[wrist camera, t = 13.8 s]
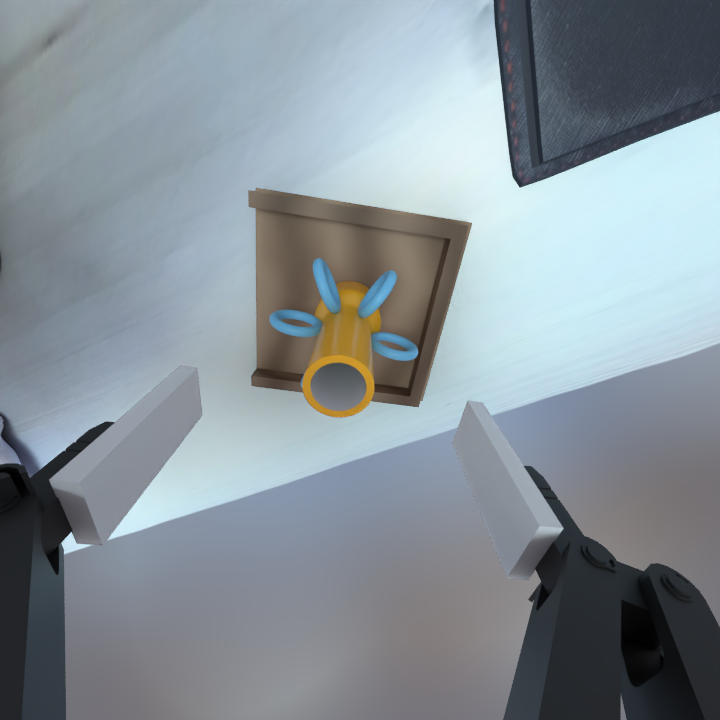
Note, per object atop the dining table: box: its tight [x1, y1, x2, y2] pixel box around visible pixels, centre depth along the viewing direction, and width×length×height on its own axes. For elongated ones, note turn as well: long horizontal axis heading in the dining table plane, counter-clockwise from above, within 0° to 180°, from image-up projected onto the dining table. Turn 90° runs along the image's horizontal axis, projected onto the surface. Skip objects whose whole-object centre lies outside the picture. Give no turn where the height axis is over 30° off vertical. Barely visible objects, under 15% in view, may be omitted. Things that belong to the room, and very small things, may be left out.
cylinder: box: [269, 258, 418, 417], centre depth 23 cm, size 12×10×15 cm
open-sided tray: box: [248, 188, 472, 407], centre depth 30 cm, size 19×19×3 cm
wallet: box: [494, 0, 720, 187], centre depth 22 cm, size 20×2×15 cm
